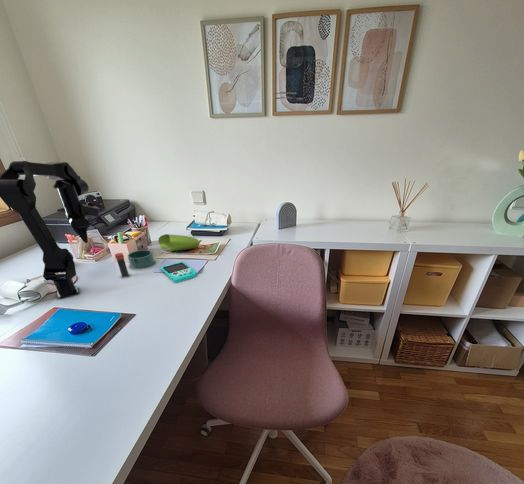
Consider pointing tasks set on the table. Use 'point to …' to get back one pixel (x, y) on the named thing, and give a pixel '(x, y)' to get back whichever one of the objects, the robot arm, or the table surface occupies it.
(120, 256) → the marker
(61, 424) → the table surface
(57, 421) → the table surface
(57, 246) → the robot arm
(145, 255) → the pen pot
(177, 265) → the handheld game console
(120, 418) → the table surface
